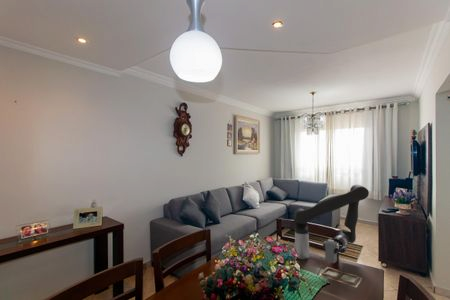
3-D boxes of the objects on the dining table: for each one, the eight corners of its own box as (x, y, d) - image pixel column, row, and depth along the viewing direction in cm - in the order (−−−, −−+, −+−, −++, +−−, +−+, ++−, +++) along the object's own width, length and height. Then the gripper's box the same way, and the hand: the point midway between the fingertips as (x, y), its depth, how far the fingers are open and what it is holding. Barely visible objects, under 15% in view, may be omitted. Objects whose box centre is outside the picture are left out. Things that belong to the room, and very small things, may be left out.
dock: (318, 276, 137) (318, 272, 137) (326, 268, 146) (326, 265, 146) (356, 288, 124) (356, 285, 124) (362, 279, 132) (362, 276, 132)
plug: (325, 260, 138) (325, 240, 138) (328, 258, 142) (328, 238, 142) (334, 263, 134) (333, 242, 135) (337, 260, 138) (336, 240, 138)
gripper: (327, 234, 153) (317, 241, 141) (351, 239, 144) (342, 247, 131) (327, 245, 153) (317, 253, 141) (351, 251, 143) (342, 261, 131)
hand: (329, 250), depth 136 cm, fingers closed on plug, 5 cm apart
